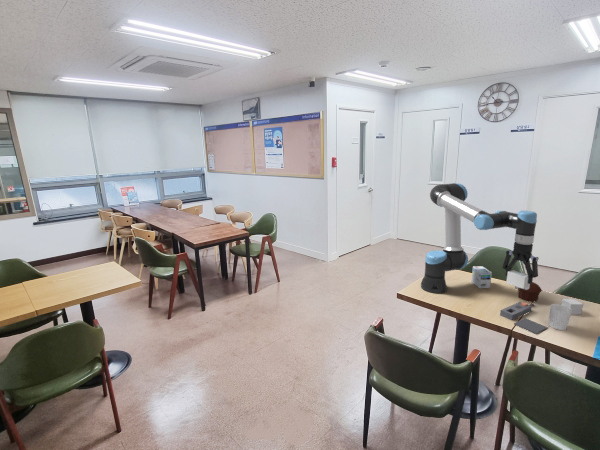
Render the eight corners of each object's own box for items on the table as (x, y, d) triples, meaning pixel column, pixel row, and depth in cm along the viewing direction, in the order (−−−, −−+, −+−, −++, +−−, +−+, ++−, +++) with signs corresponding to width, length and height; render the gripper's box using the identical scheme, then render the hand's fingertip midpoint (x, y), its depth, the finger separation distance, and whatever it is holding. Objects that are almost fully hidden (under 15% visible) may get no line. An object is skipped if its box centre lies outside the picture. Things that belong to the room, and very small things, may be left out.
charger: (506, 286, 163) (507, 271, 161) (511, 284, 165) (513, 269, 163) (522, 292, 156) (525, 277, 154) (528, 289, 158) (530, 274, 156)
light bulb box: (490, 288, 197) (492, 272, 195) (479, 288, 197) (481, 272, 195) (481, 281, 208) (482, 265, 205) (470, 281, 208) (472, 266, 205)
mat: (513, 324, 158) (513, 323, 157) (524, 319, 162) (525, 317, 162) (536, 334, 149) (536, 333, 149) (547, 328, 154) (547, 327, 153)
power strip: (499, 315, 166) (500, 309, 165) (527, 303, 178) (528, 297, 177) (511, 320, 161) (512, 314, 160) (539, 307, 173) (540, 301, 172)
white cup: (543, 322, 158) (546, 304, 156) (557, 321, 159) (561, 303, 157) (556, 331, 151) (560, 312, 148) (572, 330, 151) (576, 311, 149)
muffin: (540, 297, 184) (542, 281, 182) (540, 305, 176) (542, 288, 173) (515, 292, 191) (517, 276, 189) (514, 299, 182) (516, 283, 180)
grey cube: (569, 314, 165) (571, 304, 164) (560, 309, 171) (562, 298, 170) (580, 314, 165) (583, 304, 164) (571, 308, 171) (573, 298, 170)
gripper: (497, 238, 162) (492, 280, 167) (543, 249, 144) (536, 295, 149) (505, 236, 165) (500, 277, 171) (552, 246, 147) (544, 291, 153)
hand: (517, 285), depth 160 cm, fingers closed on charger, 8 cm apart
